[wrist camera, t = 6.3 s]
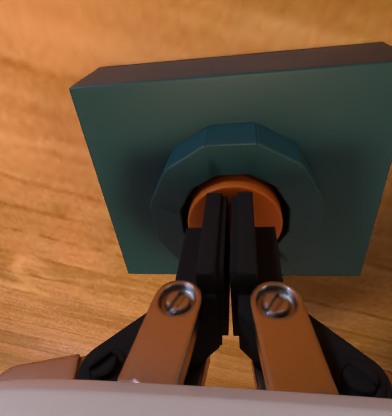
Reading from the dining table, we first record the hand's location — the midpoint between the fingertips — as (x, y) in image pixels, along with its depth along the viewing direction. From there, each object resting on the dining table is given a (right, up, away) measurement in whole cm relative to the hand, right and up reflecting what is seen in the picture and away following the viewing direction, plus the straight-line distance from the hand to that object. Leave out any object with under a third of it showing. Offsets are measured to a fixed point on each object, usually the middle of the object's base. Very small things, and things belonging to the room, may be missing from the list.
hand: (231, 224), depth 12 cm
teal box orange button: (+1, +3, +4) cm, 5 cm away
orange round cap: (0, +1, +1) cm, 2 cm away
